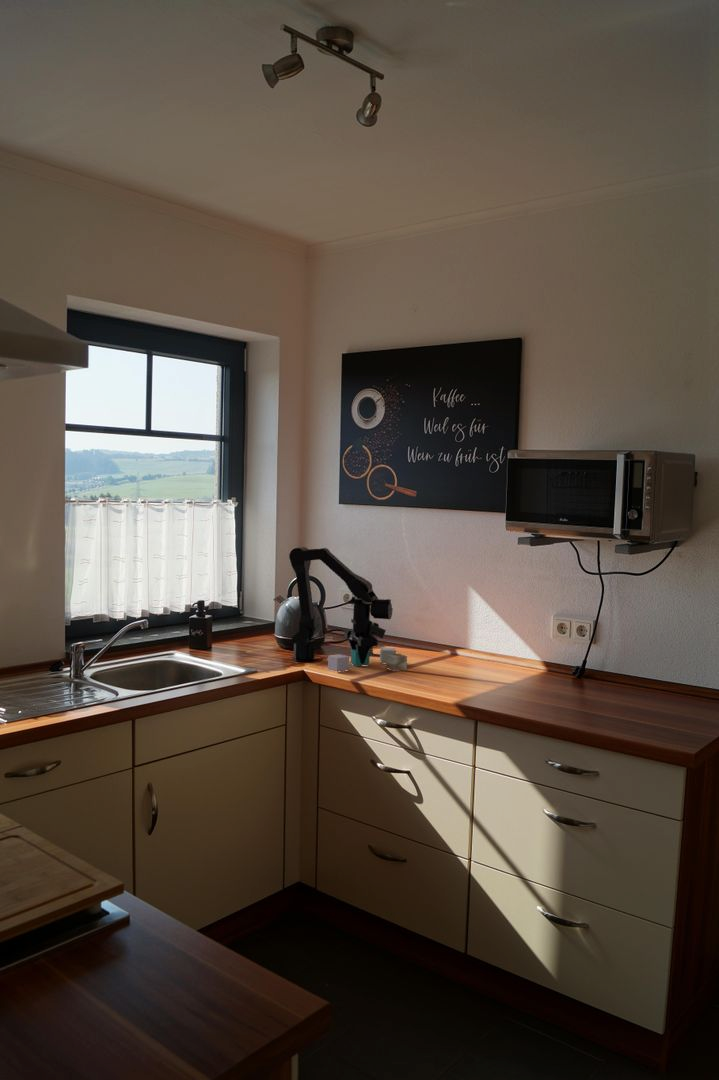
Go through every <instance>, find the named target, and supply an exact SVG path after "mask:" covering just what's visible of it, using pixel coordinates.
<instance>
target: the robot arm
mask: <svg viewBox="0 0 719 1080" xmlns="http://www.w3.org/2000/svg"><path fill="white" fill-rule="evenodd" d="M288 557H289V561H290V565H291V567H292V569H293V571H294V573H295V577H296V578H295V579H296V585H297V593H298V600H299V609H300V616H299V621H298V631H297V632H296V633H295V634H294V635H293V636H292V637H291V639H292V644H293V655H292V656H291V659H292V660H294V661H296V662H313V661H315V651H316V650H315V646H314V642H313V641H315V639H316V637H317V636H318V635H319V634H320V631H321V629H322V624H321V616H316V614H315V612H314V607H313V606H314V605H313V596H312V588H311V580H310V567H311V564H312V562H311V561H317V560H319V561H321V562H322V563H323V564H324V565H326V566H327V568H329V569H330V570H331V571H332V572H333V573H334V574H335V575H336V576H337V577H339V578H340V579H341V580H342V581H343V582H344V583H345V585H346V586H347V589H348V590H349V591H350V592H351V594H352V595H353V596H352V597H351V599H349V600H348V601H347V603H348V604H349V605H350V604H351V605H353V612H352V613H353V617H352V618H351V621H350V622H351V623H352V628H347V629H345V630H344V638H346V639H347V642H348V644H349V647H350V649H351V650H355V649H357V652H358V656H359V659H360V662H361V664H364V663H365V660H366V656H367V653H368V651H369V649H370V648H371V647H373V648H374V647H378V646H379V640H378V639H377V638H379V639H384V637H385V634H386V629H384V628H382V627H380V625H379V623H377V622H375V621H374V622H373V621H372V620H371V619H370V618H371V617H373V619H380V620H391V619H392V616H393V604H392V600H391V598H388V599H383V598H382V599H381V598H379V597H378V596H377V595H376V593H375V592H374V590H373V584H372V582H370V581H369V580H367V579H366V578H364V577H362V576H360V575H358V574H357V573H355V572H353V571H352V569H350V568H349V567H348V566H347V565H345V564H344V562H342V561H341V560H340V559H338V557H336V556H335V555H334V554H333V553H332V552H331V551H330V550H329V548H327V547H323V548H311V549H309V548H307V547H305V546H300V547H295V548H293V549H291V551H290V552H289V556H288ZM372 634H373V635H374V637H373V636H372ZM376 637H377V638H376Z"/></svg>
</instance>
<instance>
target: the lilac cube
mask: <svg viewBox="0 0 719 1080" xmlns="http://www.w3.org/2000/svg"><path fill="white" fill-rule="evenodd" d="M327 658H328V659H327V670H328V669H329V670H333V671H337V672H338V671H345V670H349V671H350V656H348V655H344V654H340V653H339V654H330V655H328V657H327ZM329 670H328V671H329Z"/></svg>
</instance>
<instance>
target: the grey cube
mask: <svg viewBox="0 0 719 1080" xmlns="http://www.w3.org/2000/svg"><path fill="white" fill-rule="evenodd" d="M379 650H380V651H379V654H380V655H379V662H380V661H381V662H380V664H381V663H387V654H397V649H396V648H395V647H382V646H381V647H380V649H379Z"/></svg>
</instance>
